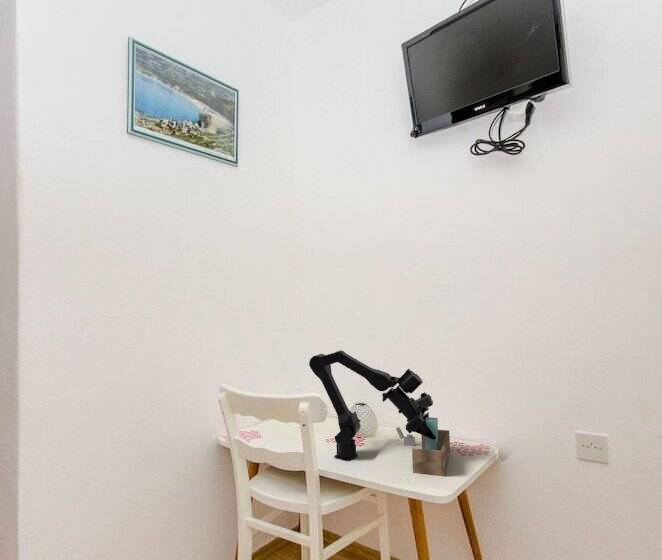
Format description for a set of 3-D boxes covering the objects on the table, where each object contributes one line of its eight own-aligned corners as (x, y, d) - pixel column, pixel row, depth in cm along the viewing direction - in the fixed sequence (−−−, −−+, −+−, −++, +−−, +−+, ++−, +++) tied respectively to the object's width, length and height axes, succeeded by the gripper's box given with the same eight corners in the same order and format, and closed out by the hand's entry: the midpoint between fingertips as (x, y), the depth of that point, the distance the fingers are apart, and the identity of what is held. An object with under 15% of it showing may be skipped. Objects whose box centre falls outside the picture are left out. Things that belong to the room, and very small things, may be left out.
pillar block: (425, 453, 143) (424, 420, 144) (426, 449, 147) (425, 417, 147) (437, 454, 142) (436, 421, 142) (438, 450, 145) (437, 417, 146)
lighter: (415, 448, 162) (414, 427, 162) (415, 449, 160) (414, 428, 160) (396, 447, 163) (396, 426, 163) (396, 449, 161) (395, 427, 162)
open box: (413, 477, 135) (412, 449, 135) (422, 452, 156) (421, 428, 157) (445, 481, 131) (444, 452, 132) (450, 455, 153) (449, 430, 154)
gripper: (414, 392, 138) (450, 429, 134) (422, 381, 155) (454, 414, 151) (391, 414, 140) (426, 452, 136) (401, 402, 158) (432, 434, 153)
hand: (435, 436), depth 144 cm, fingers closed on pillar block, 4 cm apart
